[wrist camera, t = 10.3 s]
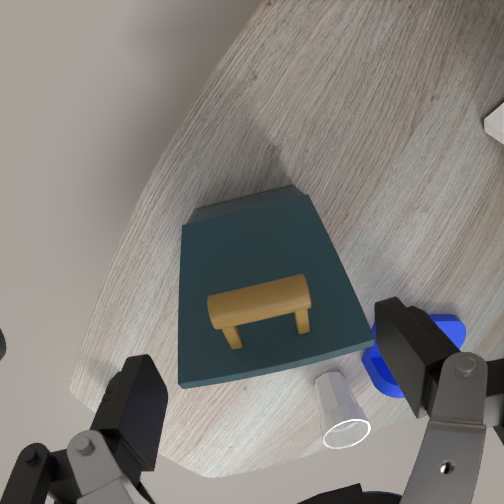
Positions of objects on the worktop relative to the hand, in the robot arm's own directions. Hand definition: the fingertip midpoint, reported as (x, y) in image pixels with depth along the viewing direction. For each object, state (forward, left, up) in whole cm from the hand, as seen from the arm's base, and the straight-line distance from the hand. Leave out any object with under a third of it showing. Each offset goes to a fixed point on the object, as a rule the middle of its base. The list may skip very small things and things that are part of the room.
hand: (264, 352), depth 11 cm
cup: (+16, -27, -28) cm, 42 cm away
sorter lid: (+1, -3, -13) cm, 13 cm away
